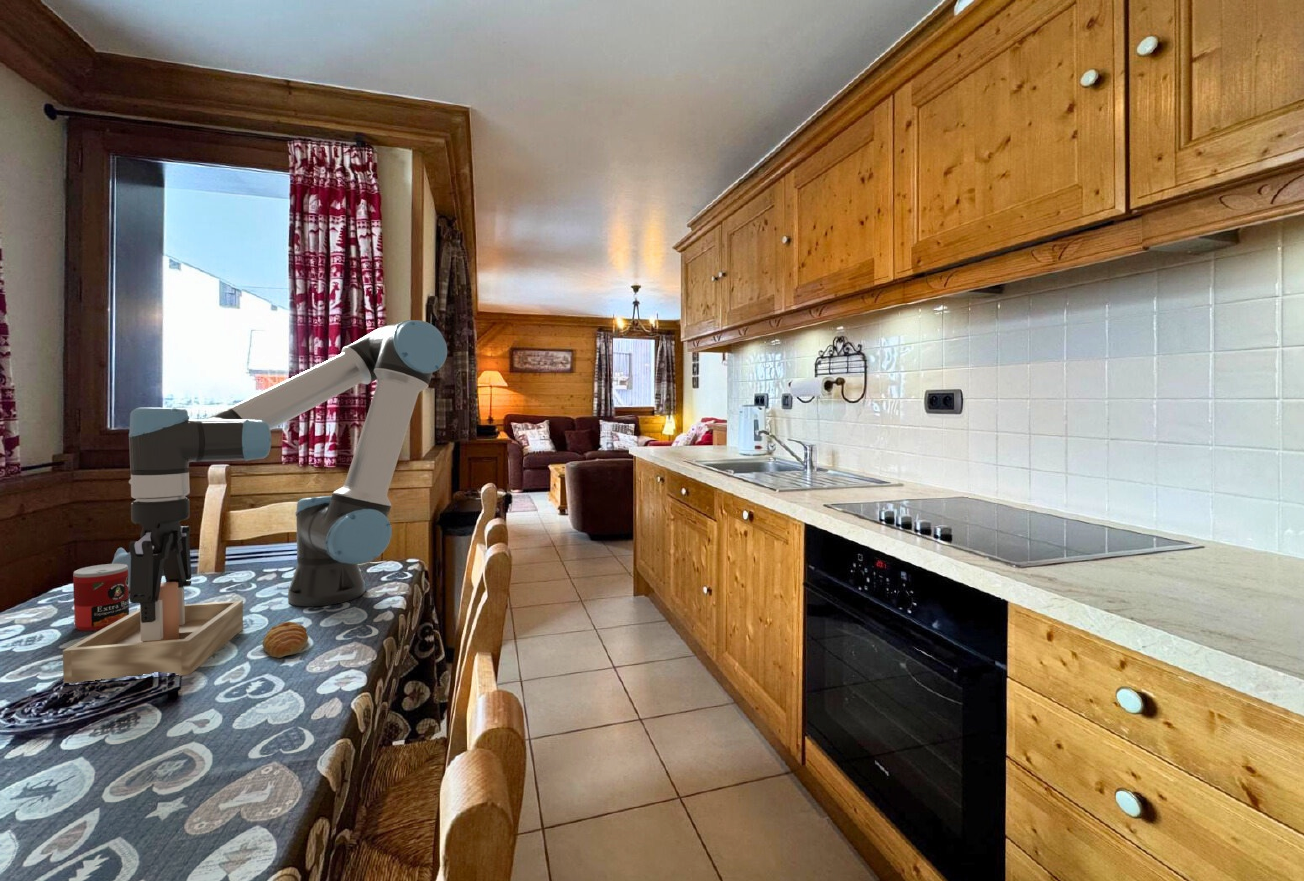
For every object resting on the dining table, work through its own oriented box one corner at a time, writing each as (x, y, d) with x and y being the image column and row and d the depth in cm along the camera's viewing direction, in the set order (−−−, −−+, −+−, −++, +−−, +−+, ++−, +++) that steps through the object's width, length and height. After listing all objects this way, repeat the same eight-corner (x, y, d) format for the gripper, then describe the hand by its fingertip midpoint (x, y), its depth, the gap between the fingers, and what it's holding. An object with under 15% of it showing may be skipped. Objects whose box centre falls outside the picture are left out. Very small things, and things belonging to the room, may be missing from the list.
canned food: (95, 633, 105) (94, 575, 105) (62, 629, 107) (61, 572, 107) (140, 619, 113) (139, 564, 113) (109, 615, 115) (107, 562, 114)
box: (243, 628, 109) (242, 600, 108) (189, 674, 89) (188, 640, 89) (143, 636, 104) (142, 607, 104) (63, 686, 85) (62, 650, 85)
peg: (184, 648, 99) (182, 581, 99) (171, 657, 96) (170, 588, 95) (157, 650, 98) (155, 582, 98) (143, 660, 94) (141, 589, 94)
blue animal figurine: (165, 585, 135) (164, 544, 134) (123, 596, 126) (122, 552, 126) (145, 583, 136) (144, 542, 136) (102, 594, 128) (101, 550, 127)
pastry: (312, 654, 98) (311, 632, 98) (265, 664, 94) (265, 642, 94) (305, 637, 106) (304, 617, 106) (261, 646, 102) (260, 625, 101)
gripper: (166, 491, 104) (168, 614, 105) (95, 507, 86) (99, 657, 86) (213, 490, 106) (215, 611, 107) (154, 506, 88) (158, 652, 89)
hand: (163, 631), depth 97 cm, fingers open, 6 cm apart
